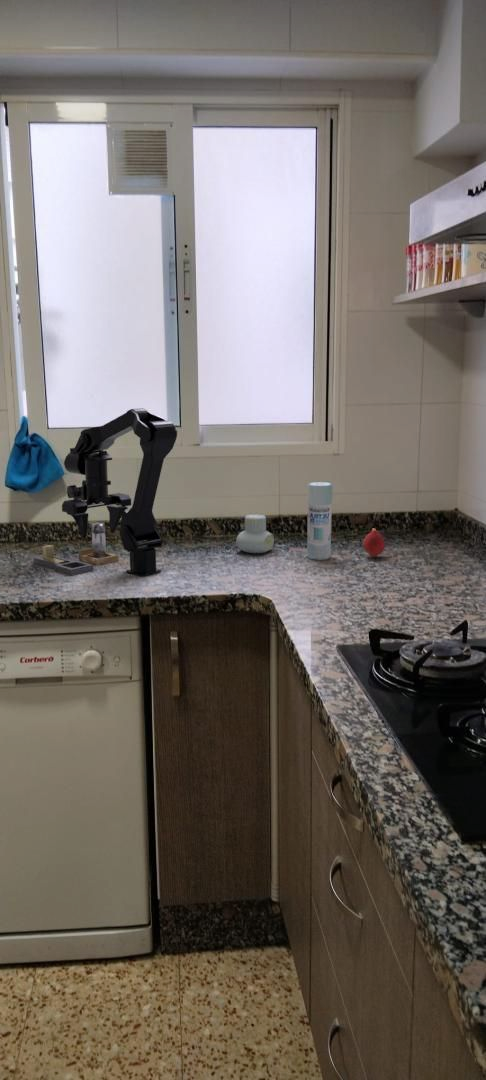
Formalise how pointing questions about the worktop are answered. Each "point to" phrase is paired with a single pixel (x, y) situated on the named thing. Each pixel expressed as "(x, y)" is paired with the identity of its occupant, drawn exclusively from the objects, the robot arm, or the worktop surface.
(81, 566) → the socket block
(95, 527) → the salt shaker
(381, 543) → the onion
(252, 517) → the air freshener
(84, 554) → the wooden tray
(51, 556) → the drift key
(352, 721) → the worktop surface
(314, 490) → the spray paint can
